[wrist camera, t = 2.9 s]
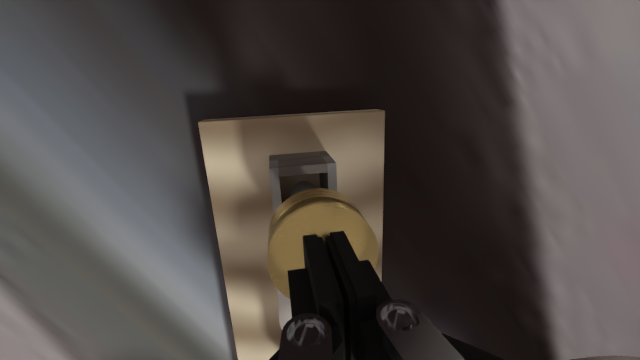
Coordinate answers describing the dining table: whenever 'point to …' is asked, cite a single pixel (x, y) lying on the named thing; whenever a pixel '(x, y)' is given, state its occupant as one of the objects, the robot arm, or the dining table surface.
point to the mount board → (282, 198)
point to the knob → (314, 229)
